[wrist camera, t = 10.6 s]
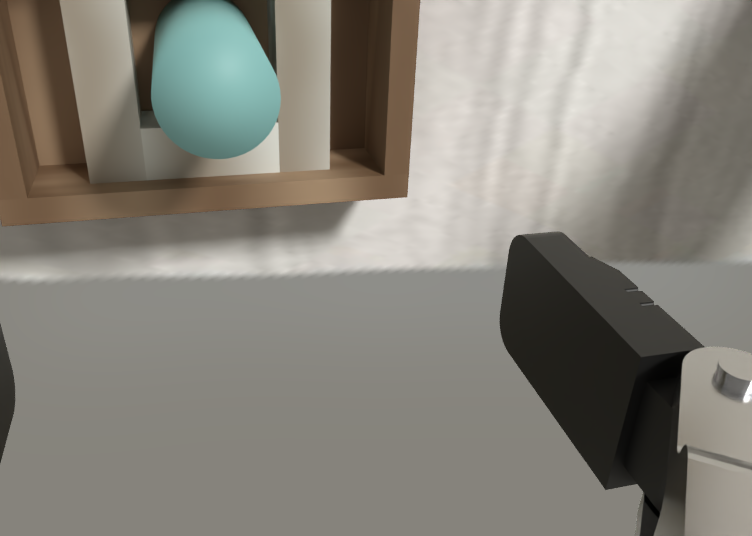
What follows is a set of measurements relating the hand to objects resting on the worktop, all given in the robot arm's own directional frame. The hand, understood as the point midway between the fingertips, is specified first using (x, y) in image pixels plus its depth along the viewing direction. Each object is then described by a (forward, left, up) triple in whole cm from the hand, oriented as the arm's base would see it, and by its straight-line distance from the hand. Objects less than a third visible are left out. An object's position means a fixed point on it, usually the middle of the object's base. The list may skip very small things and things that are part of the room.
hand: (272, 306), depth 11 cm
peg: (0, 0, -19) cm, 19 cm away
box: (0, 0, -20) cm, 20 cm away
